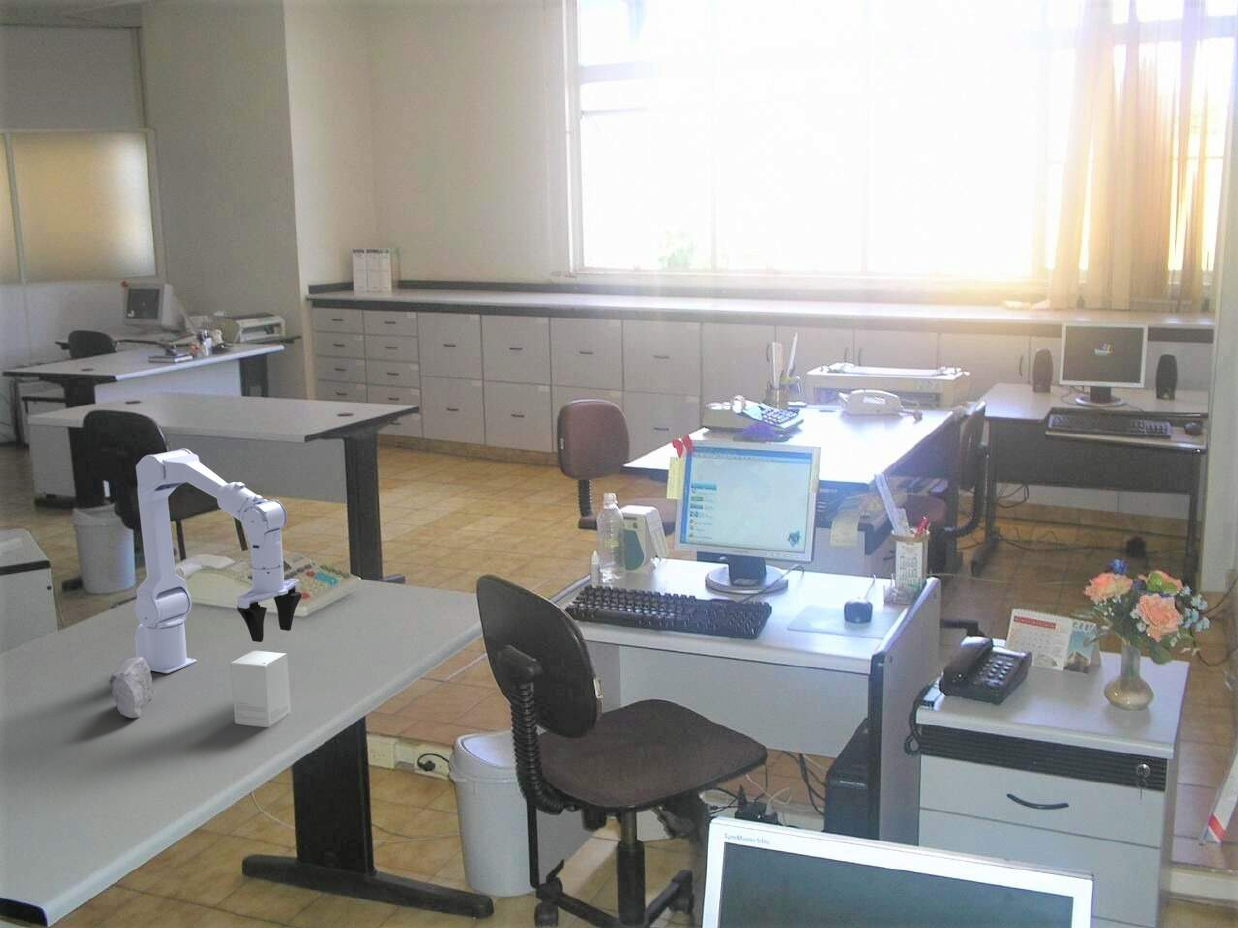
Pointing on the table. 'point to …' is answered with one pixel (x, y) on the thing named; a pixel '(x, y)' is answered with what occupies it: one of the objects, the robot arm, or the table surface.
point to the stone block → (132, 686)
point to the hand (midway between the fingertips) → (271, 635)
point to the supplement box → (260, 688)
